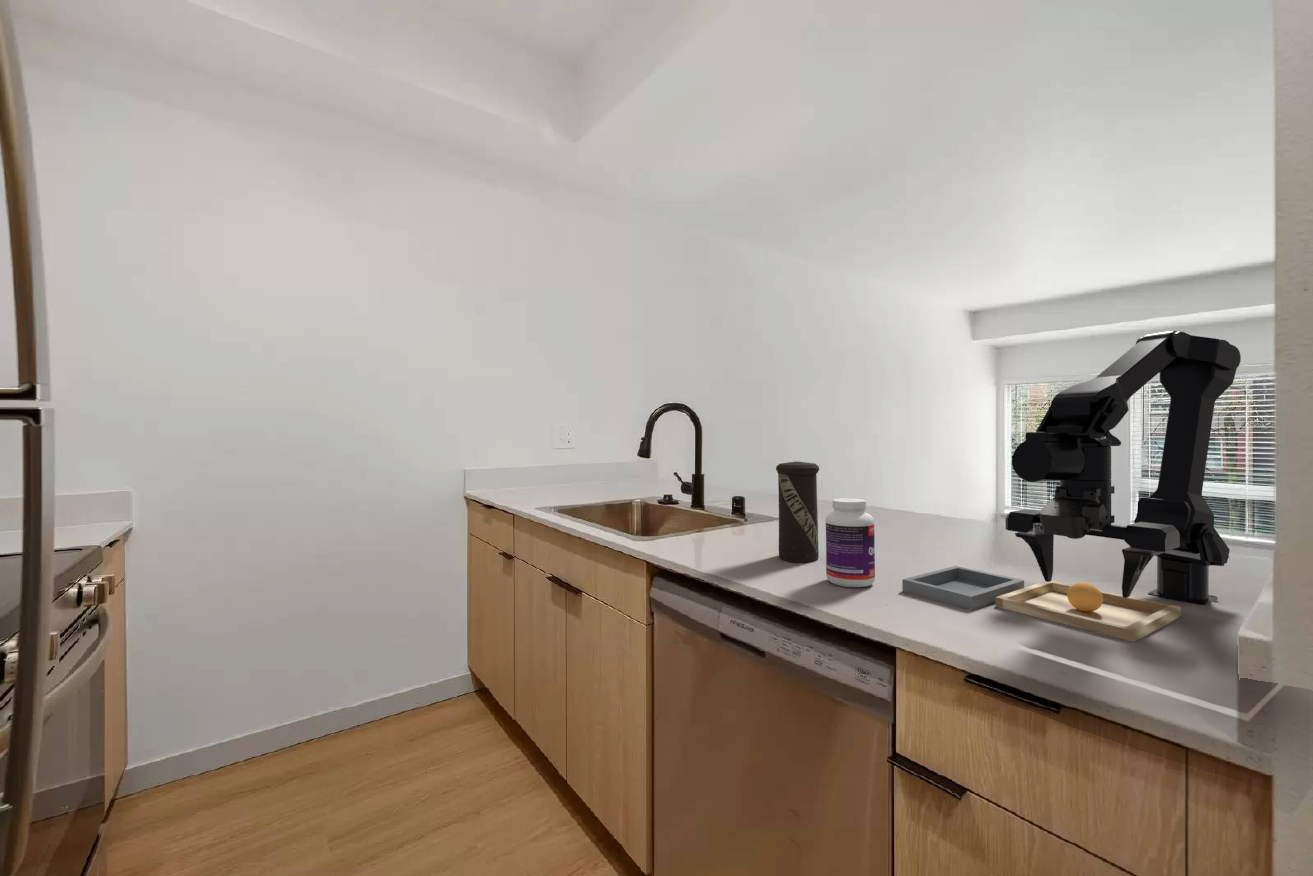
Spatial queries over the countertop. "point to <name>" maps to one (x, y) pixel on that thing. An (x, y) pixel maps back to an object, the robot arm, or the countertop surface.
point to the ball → (1085, 597)
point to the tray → (961, 586)
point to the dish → (1110, 619)
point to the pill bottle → (850, 544)
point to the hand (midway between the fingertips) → (1085, 589)
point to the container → (798, 511)
